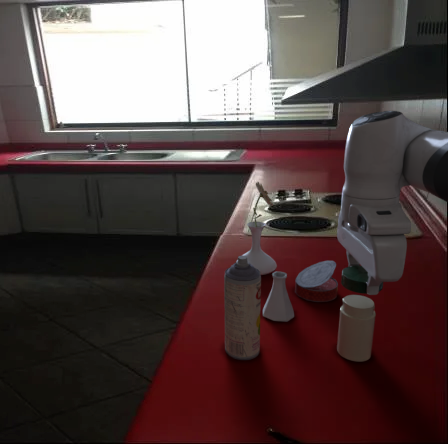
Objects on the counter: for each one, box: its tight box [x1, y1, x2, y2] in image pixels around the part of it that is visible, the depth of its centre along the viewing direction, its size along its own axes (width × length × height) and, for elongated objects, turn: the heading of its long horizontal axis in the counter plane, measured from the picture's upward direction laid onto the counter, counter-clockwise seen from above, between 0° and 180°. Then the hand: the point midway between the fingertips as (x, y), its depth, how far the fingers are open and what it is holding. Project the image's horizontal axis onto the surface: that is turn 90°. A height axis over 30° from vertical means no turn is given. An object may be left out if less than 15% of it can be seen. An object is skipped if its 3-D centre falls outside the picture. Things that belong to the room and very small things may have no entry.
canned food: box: [294, 260, 339, 303], centre depth 103 cm, size 11×10×10 cm
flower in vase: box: [235, 181, 278, 276], centre depth 115 cm, size 13×11×25 cm
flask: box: [262, 270, 295, 322], centre depth 94 cm, size 7×7×10 cm
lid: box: [340, 265, 384, 295], centre depth 76 cm, size 7×7×2 cm
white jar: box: [336, 294, 377, 363], centre depth 79 cm, size 6×6×11 cm
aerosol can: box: [223, 255, 262, 361], centre depth 80 cm, size 7×7×20 cm
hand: (362, 282), depth 76 cm, fingers closed on lid, 7 cm apart
